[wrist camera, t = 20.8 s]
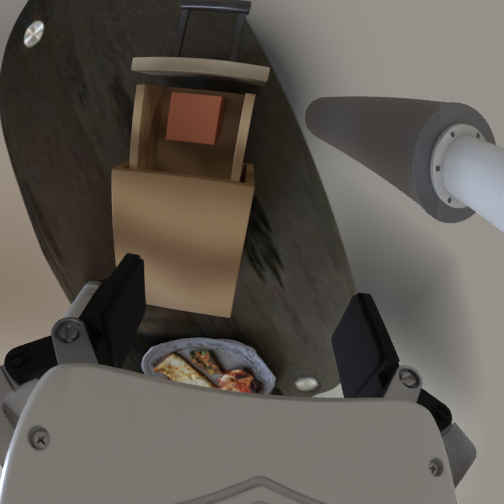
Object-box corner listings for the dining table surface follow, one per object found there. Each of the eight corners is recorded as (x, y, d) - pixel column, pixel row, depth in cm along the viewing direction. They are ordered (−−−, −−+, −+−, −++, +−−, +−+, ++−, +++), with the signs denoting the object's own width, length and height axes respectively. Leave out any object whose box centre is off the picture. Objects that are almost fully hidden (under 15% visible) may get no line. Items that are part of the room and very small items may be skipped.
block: (177, 133, 26) (165, 139, 22) (183, 93, 24) (171, 92, 20) (219, 138, 27) (213, 145, 23) (226, 97, 24) (221, 96, 21)
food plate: (290, 389, 52) (291, 403, 49) (195, 408, 57) (193, 420, 54) (234, 311, 41) (233, 328, 38) (123, 344, 46) (117, 359, 43)
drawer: (169, 12, 20) (148, -9, 14) (277, 21, 21) (284, -1, 15) (145, 181, 30) (121, 203, 24) (243, 194, 31) (241, 219, 25)
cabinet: (145, 150, 29) (111, 169, 21) (253, 163, 30) (254, 187, 22) (143, 257, 36) (119, 298, 28) (234, 272, 37) (230, 318, 30)
